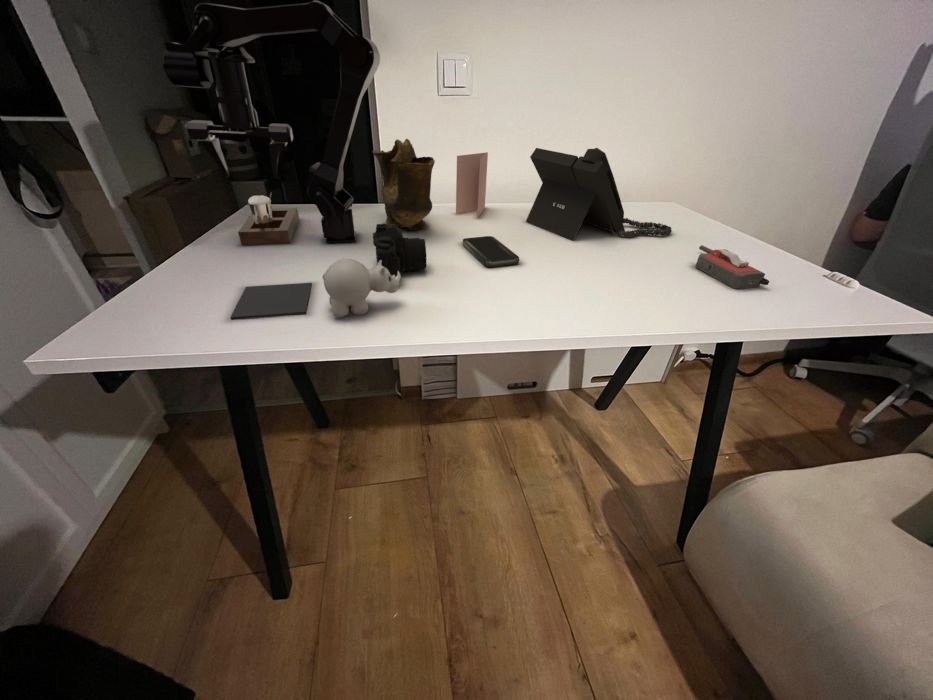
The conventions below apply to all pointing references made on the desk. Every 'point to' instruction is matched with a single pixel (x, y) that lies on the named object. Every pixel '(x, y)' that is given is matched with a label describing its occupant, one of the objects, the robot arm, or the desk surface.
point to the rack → (271, 229)
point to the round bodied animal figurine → (356, 285)
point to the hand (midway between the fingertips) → (251, 177)
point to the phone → (490, 251)
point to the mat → (272, 301)
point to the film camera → (398, 250)
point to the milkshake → (261, 211)
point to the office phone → (580, 195)
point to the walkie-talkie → (729, 269)
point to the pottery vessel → (405, 185)
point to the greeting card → (471, 182)
